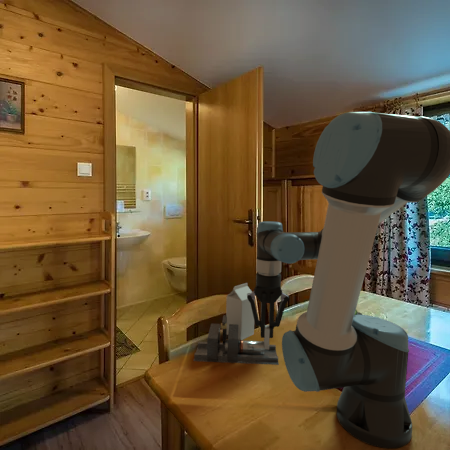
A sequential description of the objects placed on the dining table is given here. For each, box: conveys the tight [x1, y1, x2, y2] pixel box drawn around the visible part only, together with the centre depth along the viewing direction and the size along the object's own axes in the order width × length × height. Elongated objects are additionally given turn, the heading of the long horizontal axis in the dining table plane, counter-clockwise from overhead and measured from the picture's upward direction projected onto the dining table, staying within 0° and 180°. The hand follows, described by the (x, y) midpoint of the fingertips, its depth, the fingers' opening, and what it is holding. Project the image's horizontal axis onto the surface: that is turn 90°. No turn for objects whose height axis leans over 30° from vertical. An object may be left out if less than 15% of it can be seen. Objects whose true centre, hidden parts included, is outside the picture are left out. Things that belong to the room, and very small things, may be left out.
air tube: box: [225, 339, 264, 354], centre depth 98 cm, size 12×4×4 cm, turn 87°
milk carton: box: [225, 282, 256, 341], centre depth 111 cm, size 7×7×19 cm
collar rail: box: [193, 314, 280, 366], centre depth 98 cm, size 12×25×11 cm, turn 87°
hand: (266, 347), depth 98 cm, fingers closed
